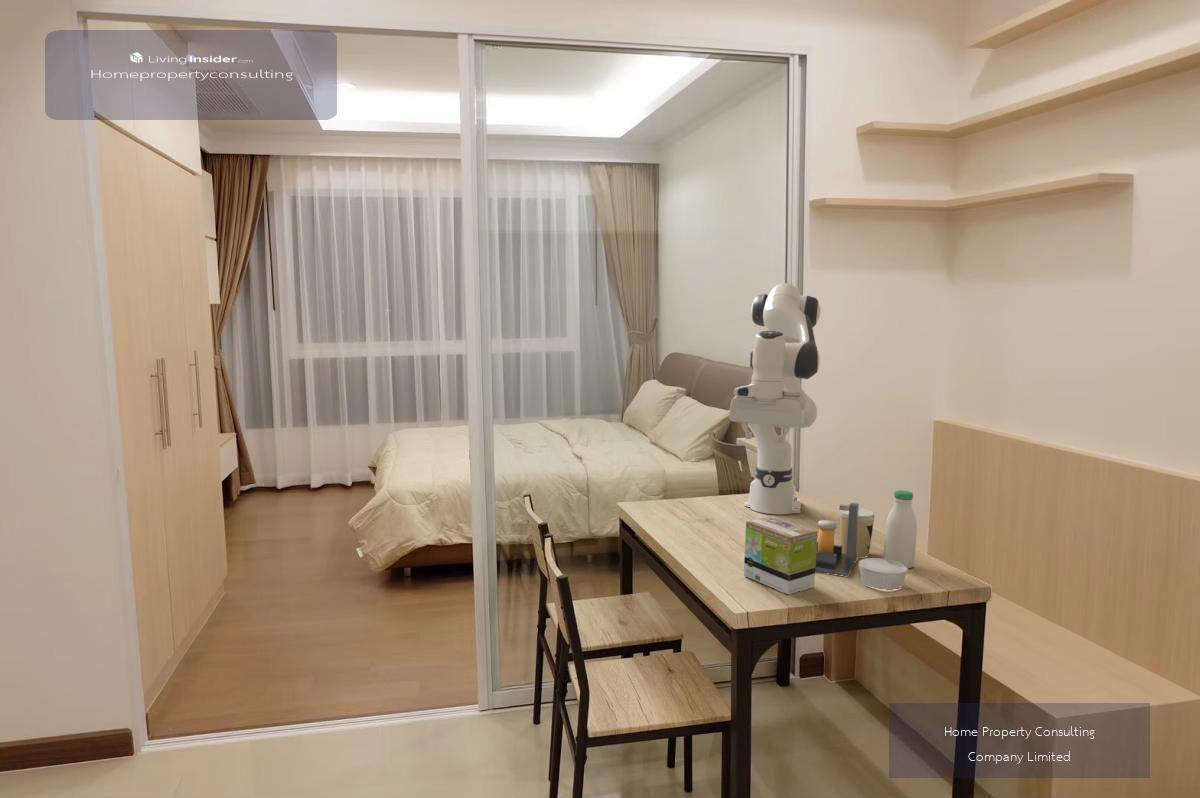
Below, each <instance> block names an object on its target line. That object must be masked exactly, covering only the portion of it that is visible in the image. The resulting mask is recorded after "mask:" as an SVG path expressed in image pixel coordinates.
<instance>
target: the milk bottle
mask: <svg viewBox="0 0 1200 798" xmlns="http://www.w3.org/2000/svg"><path fill="white" fill-rule="evenodd" d="M893 492H894V493H893V497H894V498H893V500H894V503H893V505H892V508H891V510H890V511H889V514H888V516H887V518H886V522H885V533H884V545H883V559H888V560H892V561H896V562H899V563H901V564H903V565H904V566H906V567H907V568H911V567H913V568H914V567H915V560H916V559H915V557H916V547H917V545H916V544H917V533H918V532H917V531H918V529H917V528H918V526H917V517H916V515H915V513H914V510H913V507H912V502H913V499H914V493H913V492H911V491H909V490H895V491H893ZM911 569H912V568H911Z"/></svg>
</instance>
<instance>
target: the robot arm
mask: <svg viewBox="0 0 1200 798" xmlns="http://www.w3.org/2000/svg"><path fill="white" fill-rule="evenodd" d="M821 313H822V312H821V305H820V304H819V300H818V299H817V297H813V296H810V295H801V294H800V291H799V289H798V288H797V287H796V286H795V285H793V284H791V283H788V282H782V283H779V284H777V285H775V286H774V287H772V289H771V290H770V292H769V294H767V293H764V294H759V295H757V296H756V297H755V298H754V299H753V301H752V304H751V307H750V316H751V320H752V321H753V323H754V324H755V325H757V326H760V327H766V328H767V330H763V331H759V332H758V333H756V334H755V339H754V344H753V348H752V349H751V350H750V358H749V359H750V360H749V361H750V363H749V366H750V368H751V369H752V370H753V371H752V375H751V382H750V384H749V383H747V384H744V385H742V386H738V387H736V388H734V389H733V395H734V397H733V398H732V399H731V402H730V406H729V412H728V414H729V415H728V418H729V420H730V421H731V422H733V423H734V422H735V423H741V428H742V430H743V432H744V439H747V440H751V439H753V437H754V439H755V441H756V451H757V453H756V455H757V459H756V461H757V462H756V464H757V465H756V466H755V471H754V473H755V475H754V476H755V479H754V480H752V482H750V486H749V497H748V500H747V501H745V502H744V506H745V507H747V508H749V507H750V508H749V509H750V510H752V511H754V512H757V513H762V514H769V515H789V514H801V509H802V500H801V499H798V497H796V486H795V484H794V482H793V467H792V456H793V455H792V453H793V449H792V446H791V444H790V442H789V441H787V439H786V438H787V435H788V434H789V432H790V431H791V429H795V430H797V429H805V428H810V427H811V426H812V425H814V423H815V421H816V419H817V417H818V407H817V405H816V403H815V402H814V400H813V399H812V397H810V396H808V394H807V393H806V392H805V391H804V389H803V387H802V385H801V382H800V379H802V380H803V379H804V380H809V379H810V378H812V377H813V376H815V375H816V374H817V373H818V371H819V368H820V362H821V357H820V353H819V351H818V346H817V343H816V340H815V334H814V329H813V328H815V326H816V325H817V323H818V321H819V319H820V318H821V317H820V316H821ZM775 428H783V431H784V432H783V434H780V435H778V433H777V432H776V430H775Z"/></svg>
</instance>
